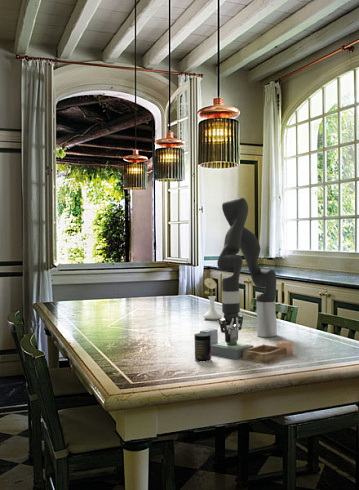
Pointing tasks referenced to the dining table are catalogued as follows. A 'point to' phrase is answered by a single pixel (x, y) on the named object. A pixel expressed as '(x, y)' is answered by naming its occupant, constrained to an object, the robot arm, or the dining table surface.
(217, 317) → the flower in vase
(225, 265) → the robot arm
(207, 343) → the supplement container
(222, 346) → the pale green panel
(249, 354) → the brown wooden tray
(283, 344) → the peach dome knob
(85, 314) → the dining table surface
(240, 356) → the checker base
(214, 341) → the medicine box
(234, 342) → the cell
